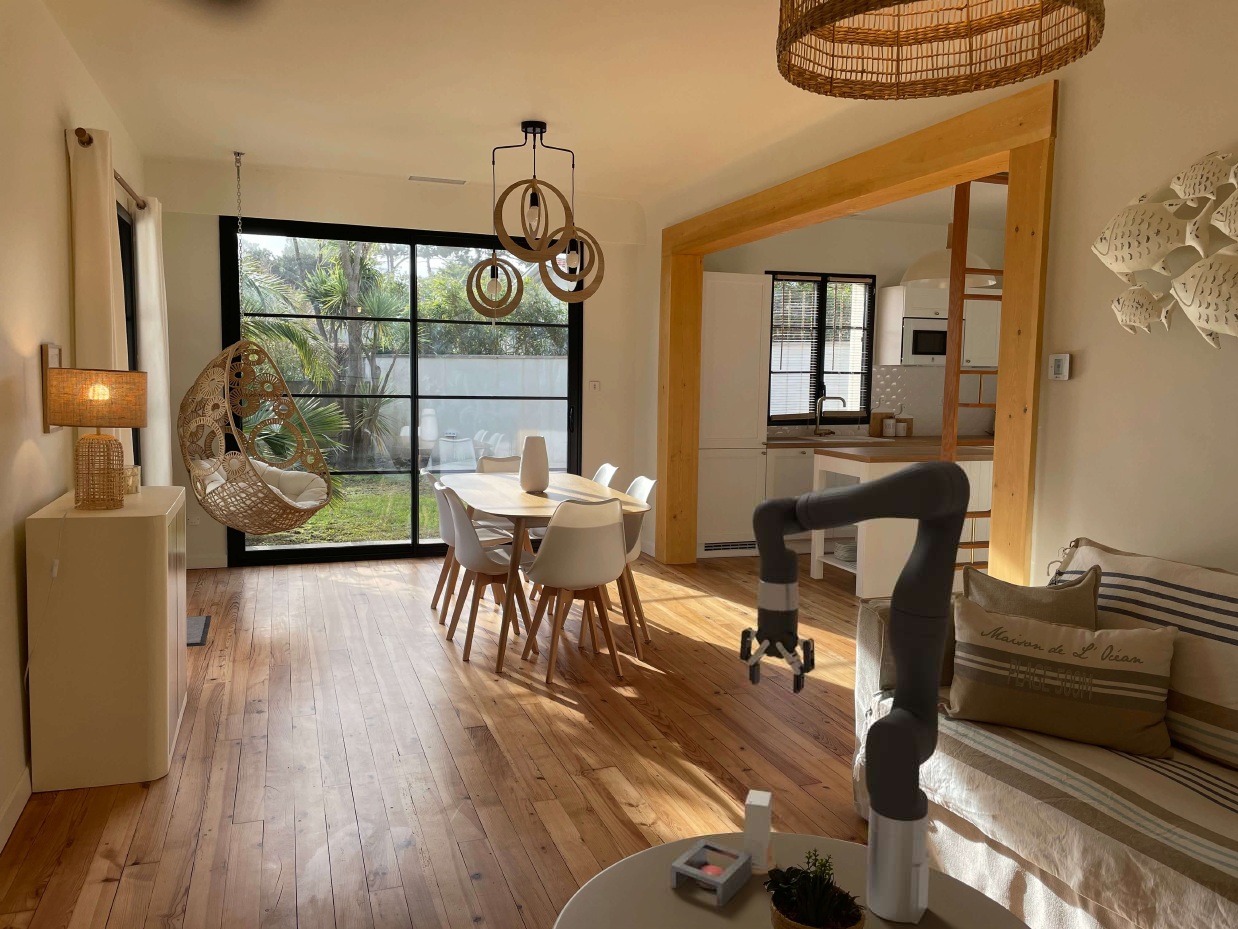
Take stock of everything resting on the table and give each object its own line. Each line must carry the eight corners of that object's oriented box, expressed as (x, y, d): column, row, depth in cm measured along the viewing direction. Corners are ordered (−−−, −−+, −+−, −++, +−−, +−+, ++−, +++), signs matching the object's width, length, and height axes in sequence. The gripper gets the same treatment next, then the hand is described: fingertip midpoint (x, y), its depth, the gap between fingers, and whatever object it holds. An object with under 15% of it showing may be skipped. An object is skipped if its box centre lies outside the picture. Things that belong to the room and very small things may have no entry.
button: (733, 878, 154) (733, 870, 154) (717, 893, 150) (718, 885, 150) (705, 868, 158) (705, 860, 157) (689, 882, 153) (689, 874, 153)
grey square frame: (751, 876, 155) (751, 855, 155) (721, 906, 146) (722, 883, 146) (701, 859, 161) (702, 838, 161) (670, 887, 152) (671, 864, 152)
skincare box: (766, 871, 156) (768, 807, 155) (742, 867, 157) (744, 803, 156) (770, 854, 162) (772, 792, 161) (747, 850, 163) (749, 788, 162)
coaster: (781, 861, 160) (781, 858, 160) (765, 879, 155) (765, 876, 155) (747, 850, 164) (747, 847, 164) (730, 866, 159) (730, 863, 159)
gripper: (821, 605, 163) (819, 690, 164) (752, 594, 171) (750, 675, 173) (805, 613, 157) (803, 701, 158) (734, 602, 165) (733, 686, 166)
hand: (775, 688), depth 165 cm, fingers open, 8 cm apart
